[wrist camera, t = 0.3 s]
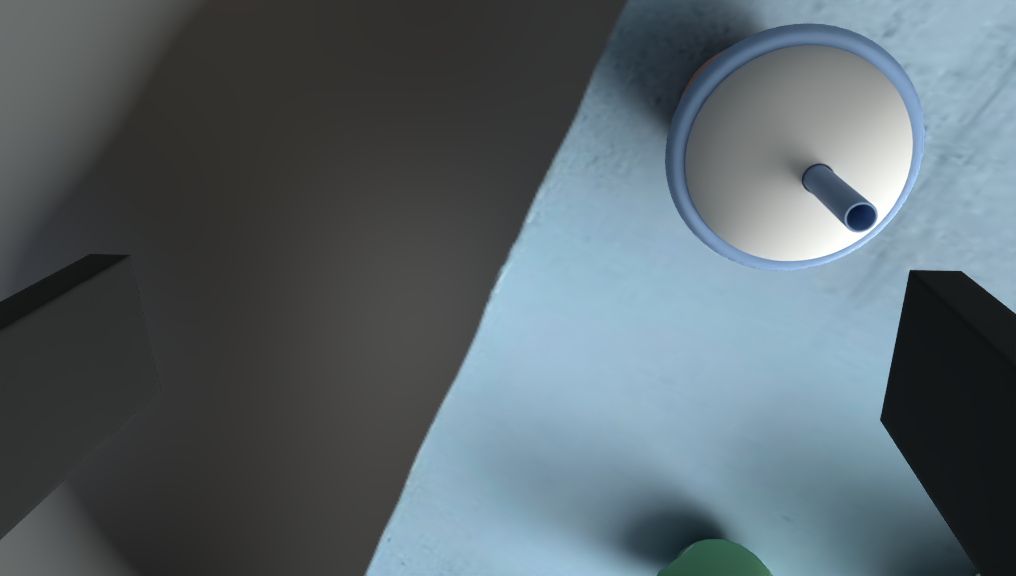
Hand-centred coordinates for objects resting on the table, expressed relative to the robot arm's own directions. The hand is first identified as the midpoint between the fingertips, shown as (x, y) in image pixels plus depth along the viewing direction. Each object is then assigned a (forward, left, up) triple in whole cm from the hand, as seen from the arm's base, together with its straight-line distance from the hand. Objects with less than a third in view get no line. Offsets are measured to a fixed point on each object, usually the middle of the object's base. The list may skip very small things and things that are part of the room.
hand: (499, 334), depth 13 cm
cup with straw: (+1, +9, -27) cm, 28 cm away
